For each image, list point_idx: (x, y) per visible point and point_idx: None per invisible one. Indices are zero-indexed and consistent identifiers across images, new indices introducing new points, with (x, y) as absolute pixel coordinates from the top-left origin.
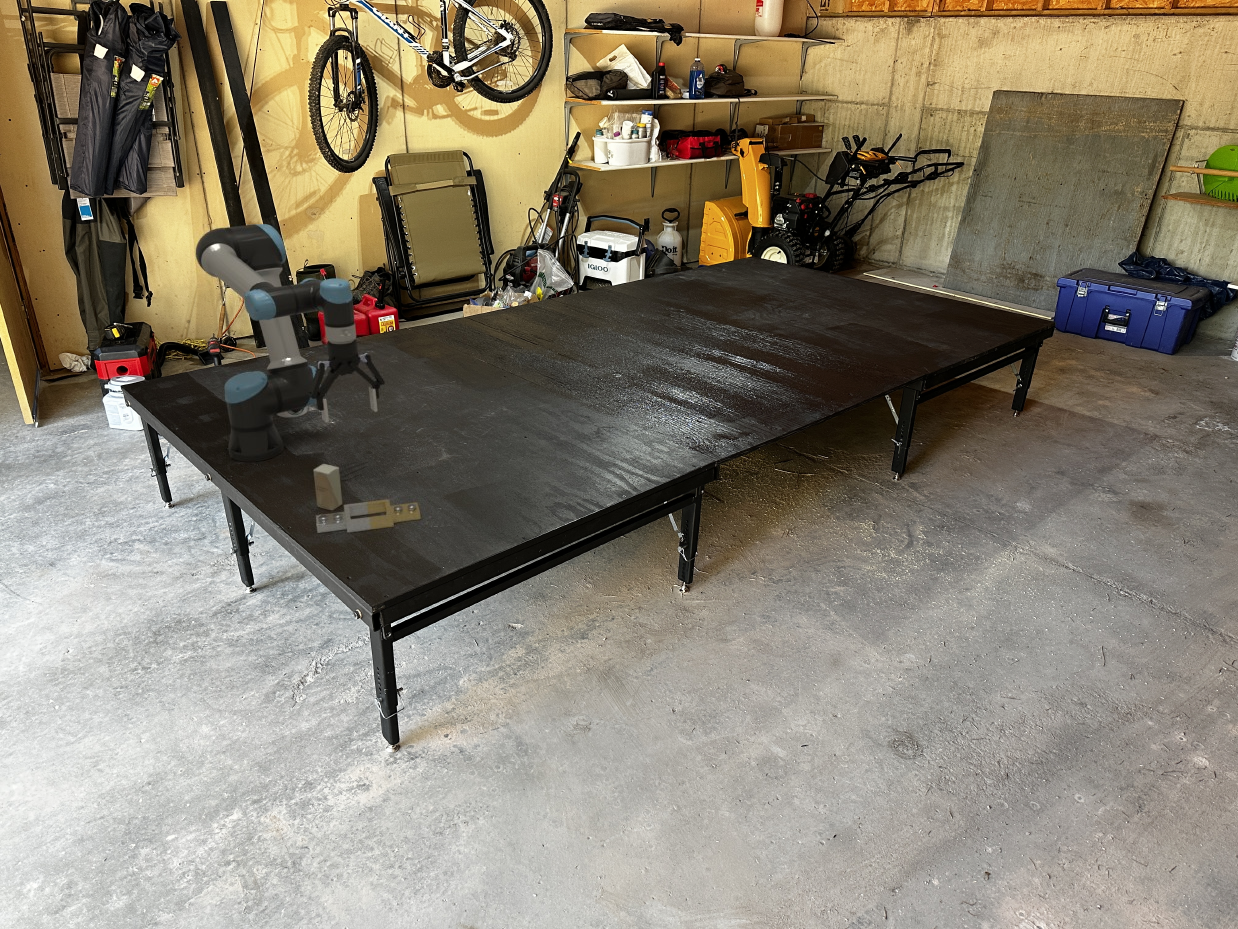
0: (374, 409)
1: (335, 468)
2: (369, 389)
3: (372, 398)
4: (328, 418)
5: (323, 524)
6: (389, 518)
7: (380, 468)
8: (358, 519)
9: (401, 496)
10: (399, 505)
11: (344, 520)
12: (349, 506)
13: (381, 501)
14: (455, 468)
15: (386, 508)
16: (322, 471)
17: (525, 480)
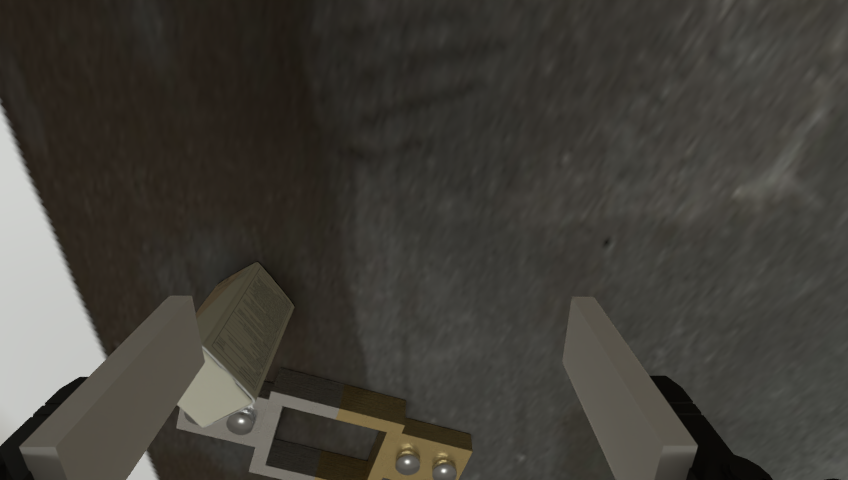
0: (567, 371)
1: (238, 407)
2: (645, 440)
3: (601, 421)
4: (191, 380)
5: (195, 430)
6: None
7: (517, 134)
8: (284, 473)
9: (470, 356)
10: (422, 443)
11: (255, 438)
12: (284, 405)
13: (379, 426)
14: (723, 285)
15: (375, 463)
16: (182, 405)
17: (806, 449)
